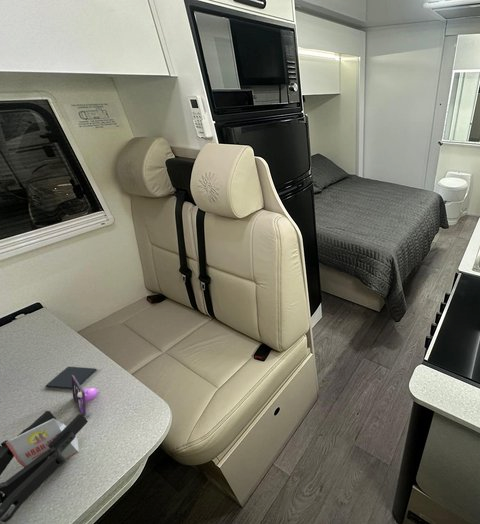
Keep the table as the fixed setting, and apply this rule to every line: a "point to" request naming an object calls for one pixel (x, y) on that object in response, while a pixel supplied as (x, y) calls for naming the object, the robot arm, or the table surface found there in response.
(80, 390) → the purple knobbed frame
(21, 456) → the white red carton
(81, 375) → the mat
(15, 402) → the table surface
